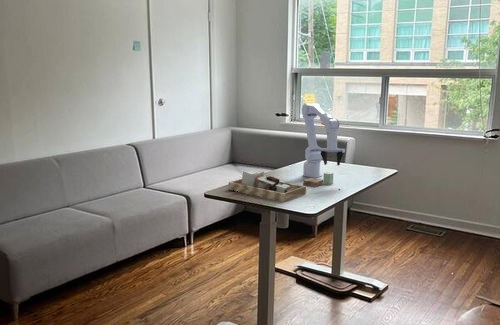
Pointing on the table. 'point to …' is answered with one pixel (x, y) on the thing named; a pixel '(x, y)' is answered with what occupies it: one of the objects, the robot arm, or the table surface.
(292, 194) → the tray
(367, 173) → the table surface
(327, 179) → the green block
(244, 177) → the toy
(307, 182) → the walnut plinth
